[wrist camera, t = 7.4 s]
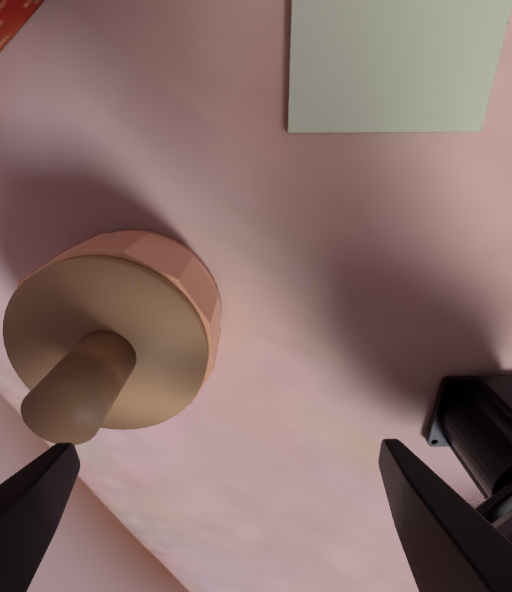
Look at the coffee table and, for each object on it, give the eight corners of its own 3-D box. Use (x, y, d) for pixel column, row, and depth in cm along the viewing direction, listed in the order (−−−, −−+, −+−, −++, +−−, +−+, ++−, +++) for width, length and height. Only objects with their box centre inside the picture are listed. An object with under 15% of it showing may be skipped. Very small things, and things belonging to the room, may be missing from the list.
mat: (476, 131, 17) (481, 131, 16) (287, 133, 17) (288, 132, 16) (543, -148, 13) (552, -157, 12) (295, -146, 13) (296, -156, 12)
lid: (213, 417, 18) (200, 502, 13) (44, 419, 18) (-24, 504, 13) (201, 253, 14) (177, 296, 10) (-14, 255, 14) (-136, 298, 10)
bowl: (224, 368, 23) (217, 421, 18) (85, 369, 23) (42, 423, 18) (216, 228, 19) (205, 251, 14) (47, 229, 19) (-20, 252, 14)
